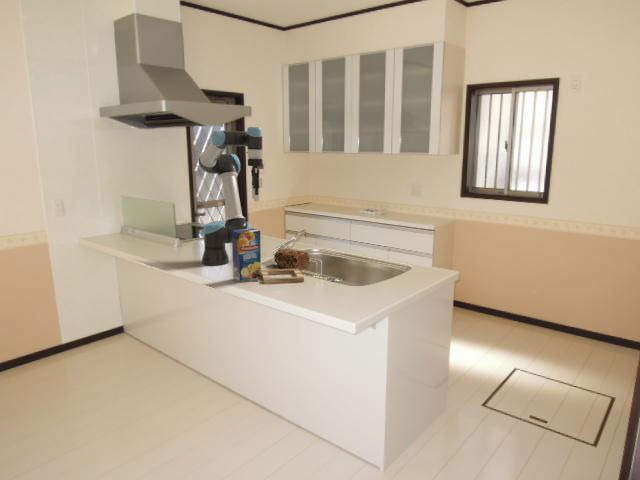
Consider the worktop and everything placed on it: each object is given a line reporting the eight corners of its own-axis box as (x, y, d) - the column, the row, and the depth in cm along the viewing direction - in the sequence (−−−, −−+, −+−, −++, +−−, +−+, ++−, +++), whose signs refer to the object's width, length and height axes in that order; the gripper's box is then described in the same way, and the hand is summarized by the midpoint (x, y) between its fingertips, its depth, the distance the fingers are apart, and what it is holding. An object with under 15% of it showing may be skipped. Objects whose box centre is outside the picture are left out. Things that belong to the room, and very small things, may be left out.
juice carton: (239, 280, 225) (238, 233, 220) (232, 277, 231) (231, 230, 226) (261, 276, 232) (260, 230, 228) (253, 273, 238) (252, 228, 233)
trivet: (235, 276, 236) (235, 274, 236) (256, 275, 238) (256, 273, 238) (235, 282, 226) (235, 280, 225) (258, 281, 228) (258, 279, 228)
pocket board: (261, 273, 241) (261, 270, 241) (298, 272, 245) (298, 268, 245) (263, 283, 224) (263, 279, 224) (304, 281, 228) (304, 277, 228)
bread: (309, 268, 254) (309, 250, 252) (295, 271, 247) (295, 253, 245) (287, 262, 267) (287, 245, 265) (273, 265, 259) (273, 248, 257)
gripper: (246, 157, 244) (247, 197, 248) (248, 158, 220) (249, 202, 224) (260, 157, 245) (261, 197, 250) (264, 159, 221) (264, 202, 226)
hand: (255, 199), depth 237 cm, fingers open, 13 cm apart
